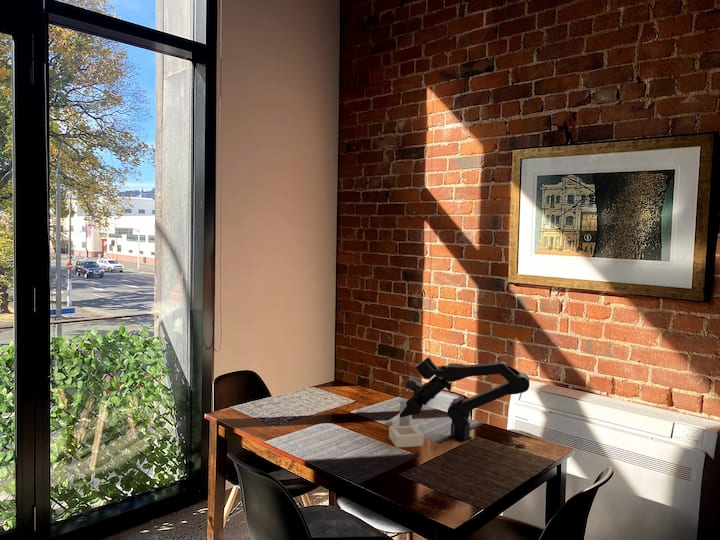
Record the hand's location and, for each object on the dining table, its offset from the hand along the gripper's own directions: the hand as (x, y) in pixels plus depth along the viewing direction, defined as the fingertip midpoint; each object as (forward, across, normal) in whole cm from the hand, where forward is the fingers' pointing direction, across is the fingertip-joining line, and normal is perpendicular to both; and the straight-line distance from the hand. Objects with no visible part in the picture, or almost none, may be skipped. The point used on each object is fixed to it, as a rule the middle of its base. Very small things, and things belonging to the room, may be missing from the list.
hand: (403, 412), depth 225 cm
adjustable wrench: (+9, -16, +2) cm, 18 cm away
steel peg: (+4, 0, +6) cm, 7 cm away
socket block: (+2, +11, +8) cm, 14 cm away
